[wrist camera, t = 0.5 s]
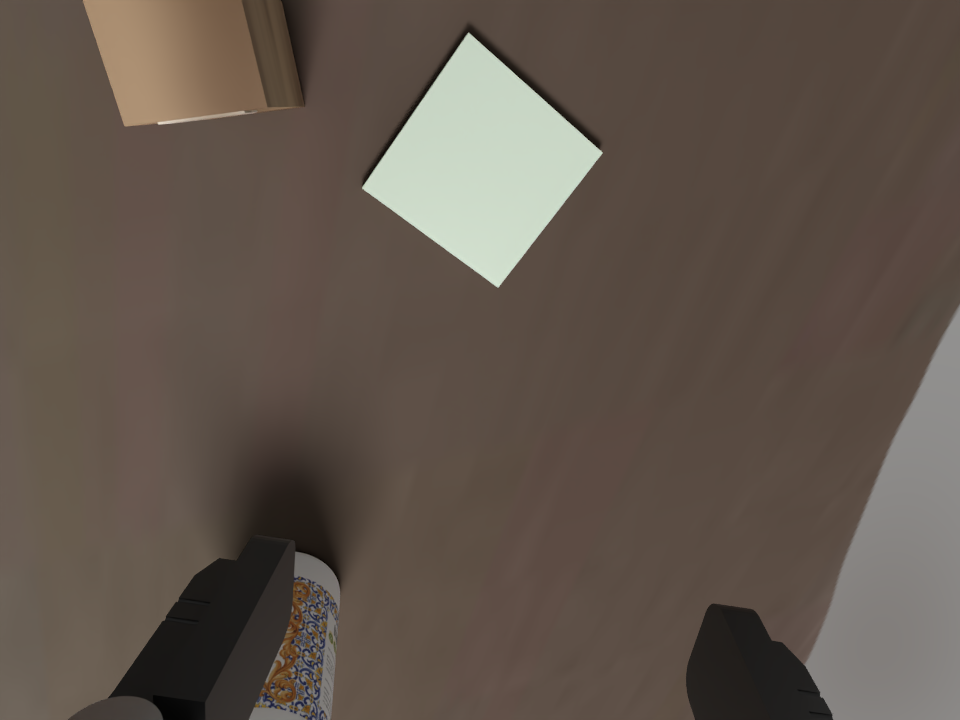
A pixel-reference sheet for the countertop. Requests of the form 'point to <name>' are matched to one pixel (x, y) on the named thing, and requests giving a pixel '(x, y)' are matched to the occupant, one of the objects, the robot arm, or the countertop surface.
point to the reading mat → (482, 163)
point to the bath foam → (305, 649)
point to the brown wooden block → (195, 58)
